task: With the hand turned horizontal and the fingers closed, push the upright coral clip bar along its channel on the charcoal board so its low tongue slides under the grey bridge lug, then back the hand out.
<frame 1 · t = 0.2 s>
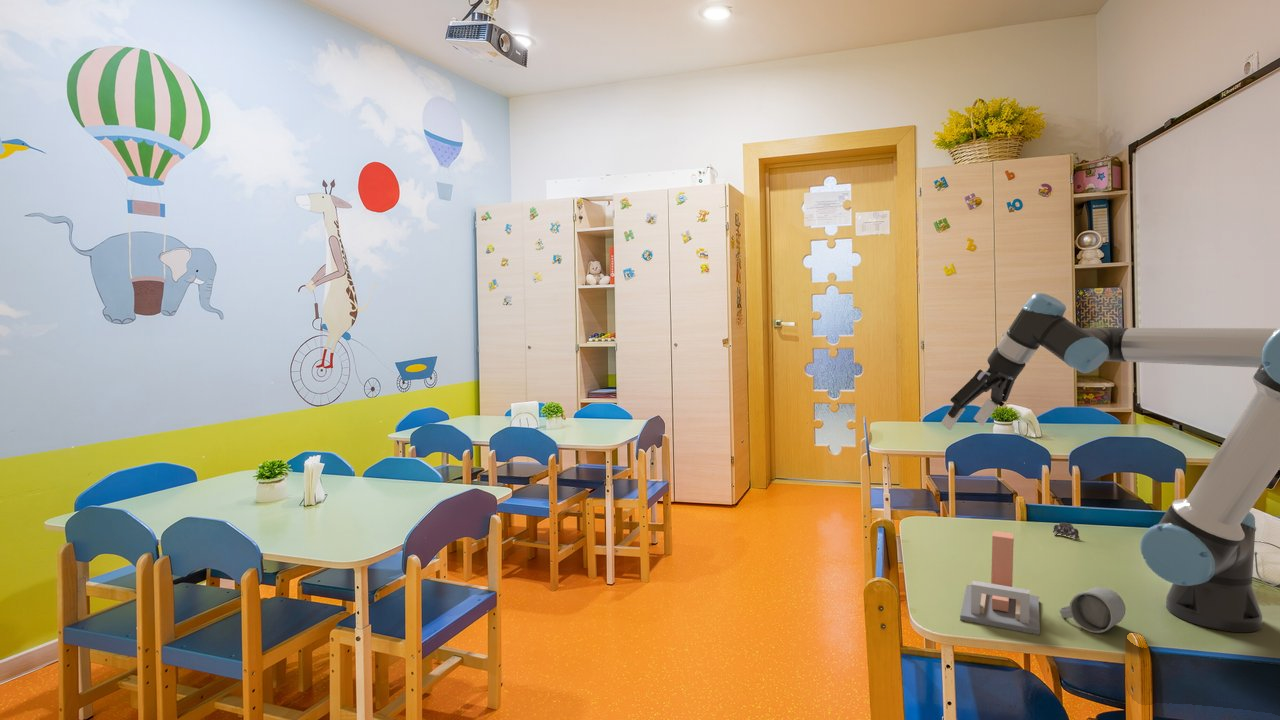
hand: (962, 424, 172), 35 cm above the table, tool tilted 35°, fingers open, 13 cm apart
clip bar: (1001, 570, 147), point 8 cm above the table, slide at 0.0 cm
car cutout: (1082, 543, 189), on the table
mount: (1000, 610, 145), on the table
ceramic mug: (1090, 625, 139), on the table
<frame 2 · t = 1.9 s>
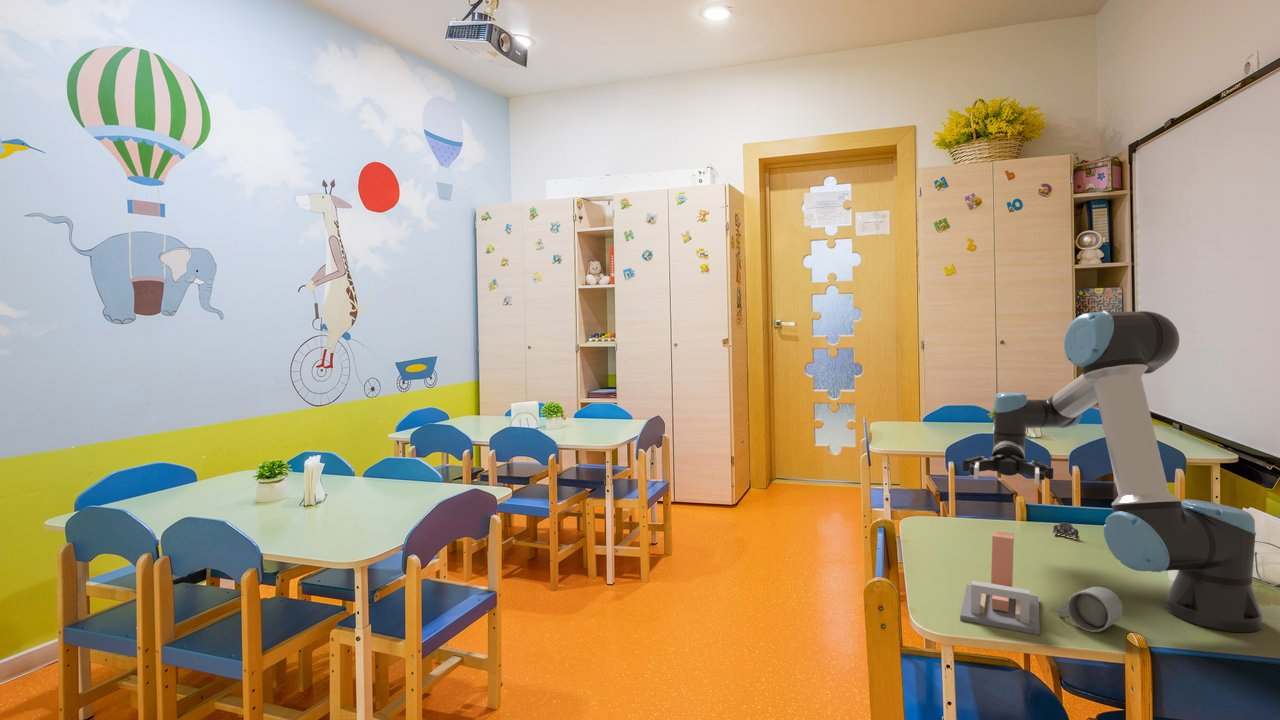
hand: (1005, 476, 158), 25 cm above the table, tool horizontal, fingers open, 12 cm apart
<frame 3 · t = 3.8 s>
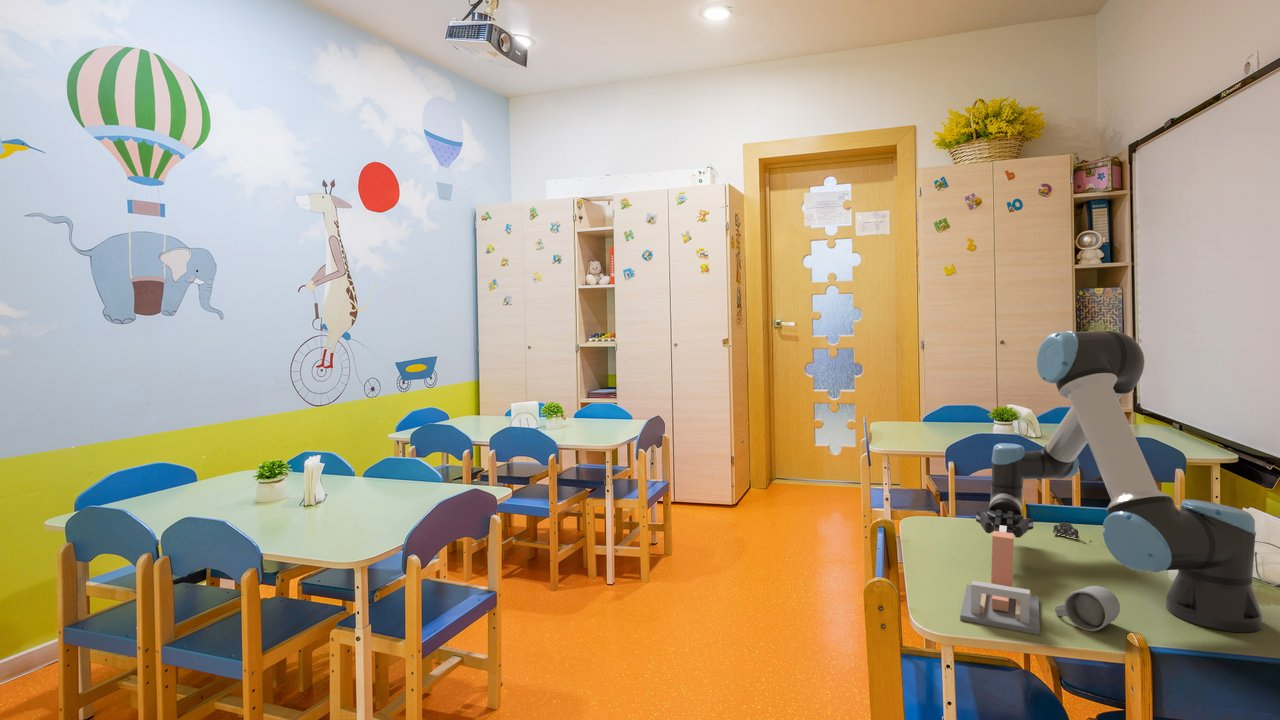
hand: (1002, 539, 158), 11 cm above the table, tool horizontal, fingers closed
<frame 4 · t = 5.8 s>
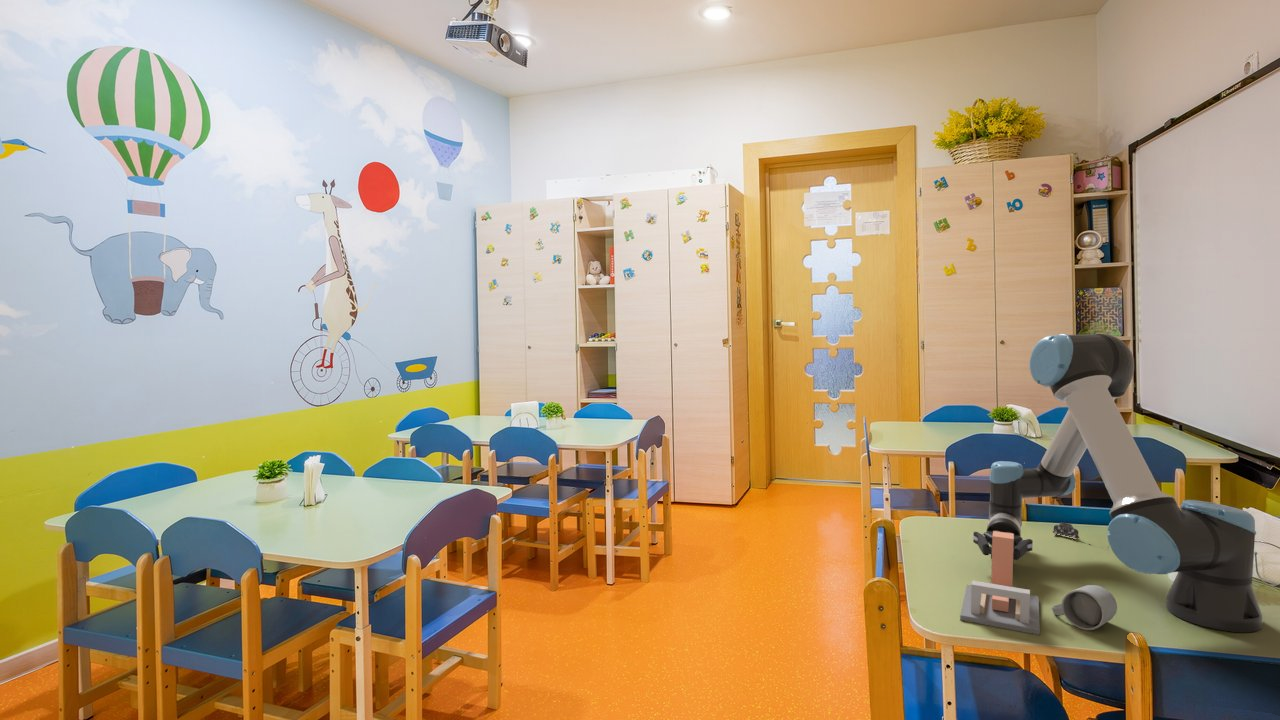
hand: (999, 562, 153), 7 cm above the table, tool horizontal, fingers closed
clip bar: (1001, 570, 147), point 8 cm above the table, slide at 0.2 cm, touching gripper
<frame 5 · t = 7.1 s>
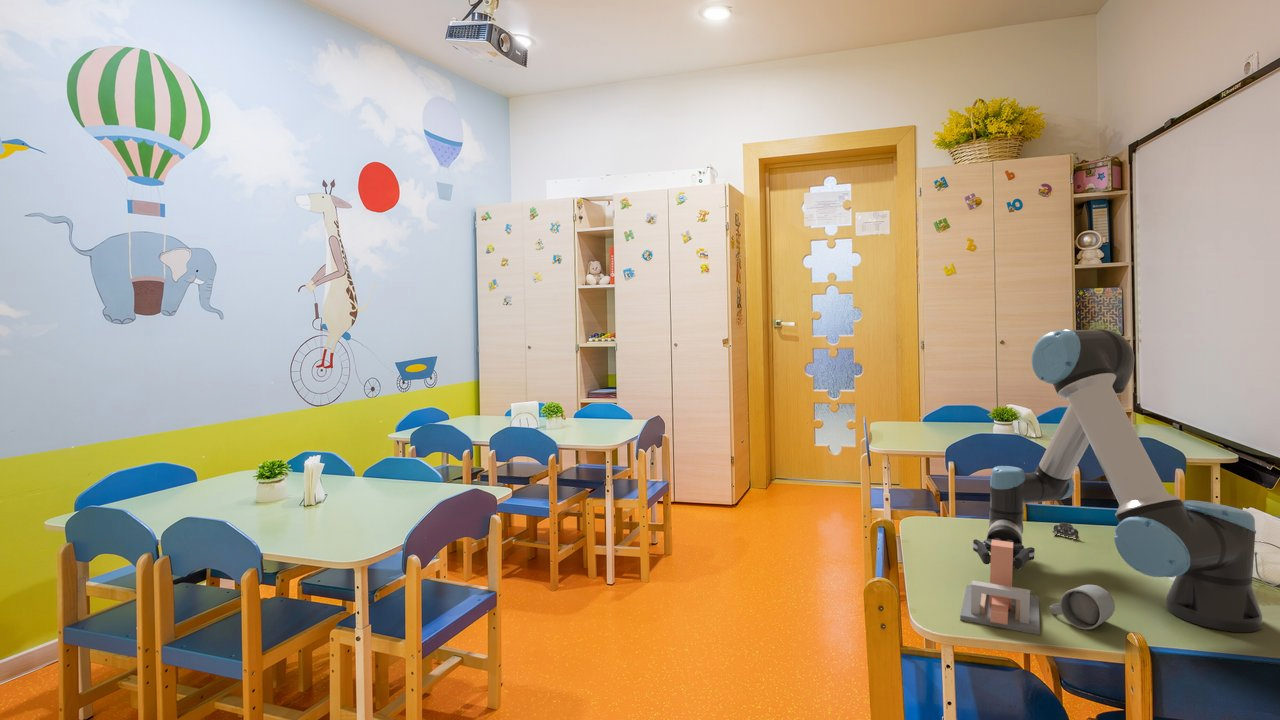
hand: (1000, 572, 147), 7 cm above the table, tool horizontal, fingers closed
clip bar: (1000, 580, 141), point 8 cm above the table, slide at 6.7 cm, touching gripper
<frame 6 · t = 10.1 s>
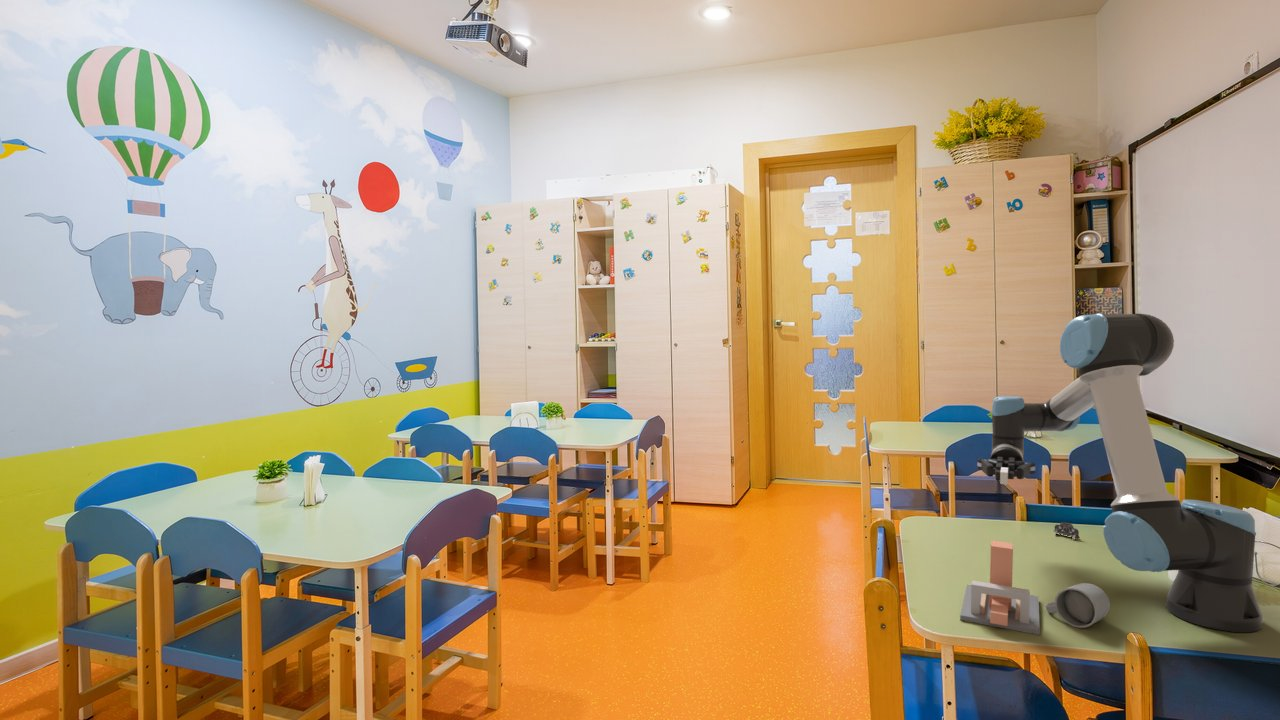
hand: (1003, 478, 157), 25 cm above the table, tool horizontal, fingers closed
clip bar: (1000, 581, 141), point 8 cm above the table, slide at 7.3 cm
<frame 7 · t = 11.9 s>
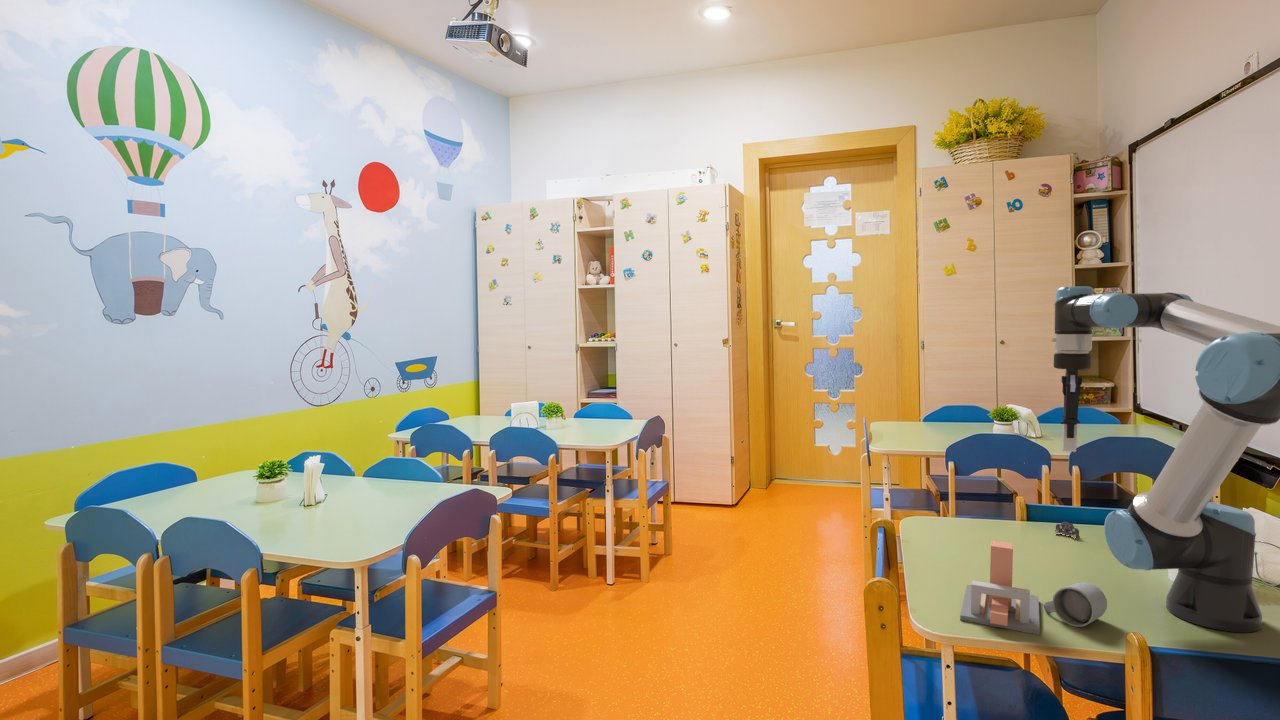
hand: (1069, 450, 165), 29 cm above the table, tool pointing down, fingers closed
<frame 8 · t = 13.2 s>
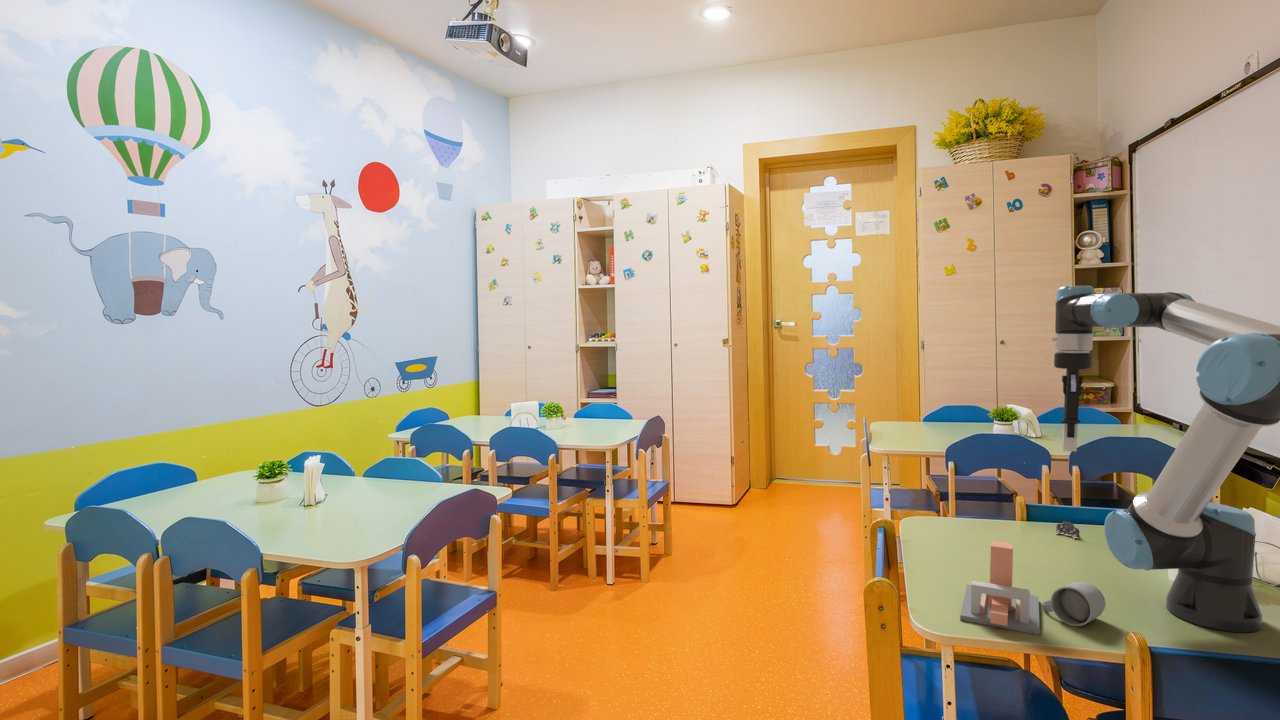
hand: (1069, 450, 165), 29 cm above the table, tool pointing down, fingers closed
at the end: clip bar slide at 7.3 cm; the gripper is holding nothing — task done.
